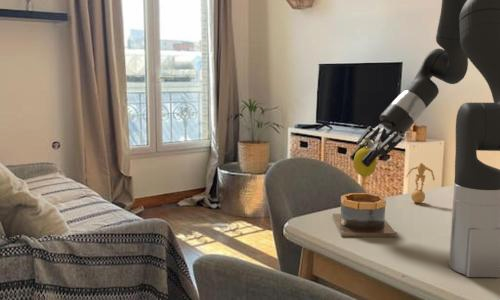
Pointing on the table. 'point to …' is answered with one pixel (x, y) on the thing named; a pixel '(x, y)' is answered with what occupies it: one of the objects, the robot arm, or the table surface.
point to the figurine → (419, 195)
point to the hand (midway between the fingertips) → (358, 161)
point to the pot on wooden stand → (363, 216)
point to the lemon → (359, 166)
